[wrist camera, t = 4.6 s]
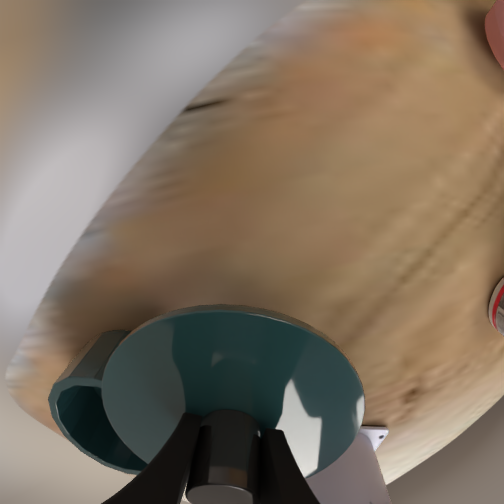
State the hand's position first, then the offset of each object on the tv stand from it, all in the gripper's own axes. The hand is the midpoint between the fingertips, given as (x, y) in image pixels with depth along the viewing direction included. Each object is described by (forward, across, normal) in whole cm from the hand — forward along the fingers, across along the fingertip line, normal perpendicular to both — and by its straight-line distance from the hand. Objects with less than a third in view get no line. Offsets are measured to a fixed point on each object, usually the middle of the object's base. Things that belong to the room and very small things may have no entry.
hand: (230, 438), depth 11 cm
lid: (+1, 0, 0) cm, 1 cm away
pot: (+10, +7, +8) cm, 15 cm away
